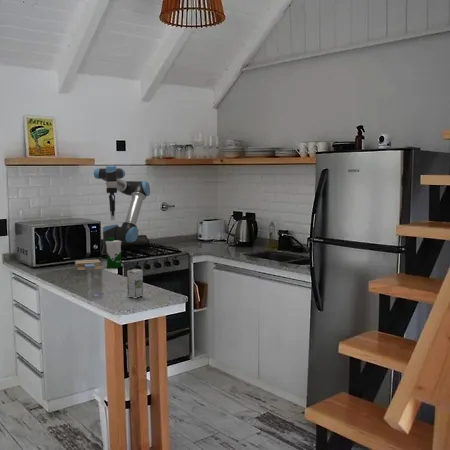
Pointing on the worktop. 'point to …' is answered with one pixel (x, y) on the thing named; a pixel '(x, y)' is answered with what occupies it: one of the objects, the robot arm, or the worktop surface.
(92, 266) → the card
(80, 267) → the mat
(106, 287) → the worktop surface
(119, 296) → the worktop surface
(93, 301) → the worktop surface
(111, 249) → the milk carton
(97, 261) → the board
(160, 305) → the worktop surface
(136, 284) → the syrup box
